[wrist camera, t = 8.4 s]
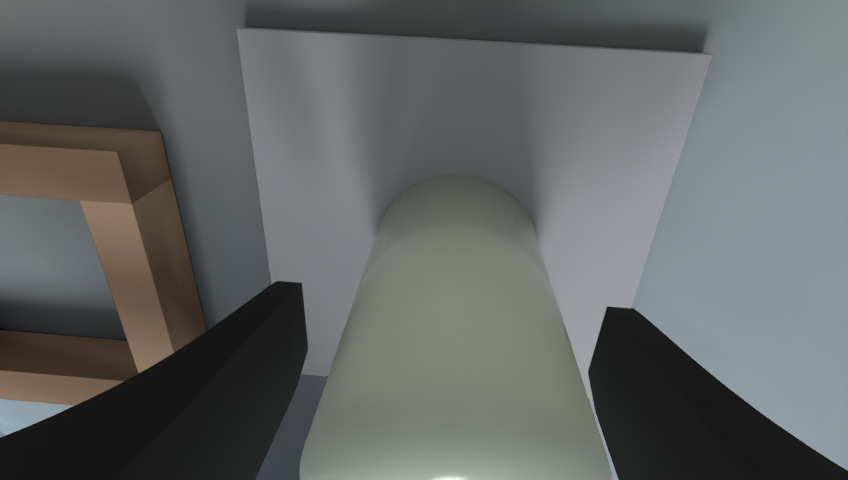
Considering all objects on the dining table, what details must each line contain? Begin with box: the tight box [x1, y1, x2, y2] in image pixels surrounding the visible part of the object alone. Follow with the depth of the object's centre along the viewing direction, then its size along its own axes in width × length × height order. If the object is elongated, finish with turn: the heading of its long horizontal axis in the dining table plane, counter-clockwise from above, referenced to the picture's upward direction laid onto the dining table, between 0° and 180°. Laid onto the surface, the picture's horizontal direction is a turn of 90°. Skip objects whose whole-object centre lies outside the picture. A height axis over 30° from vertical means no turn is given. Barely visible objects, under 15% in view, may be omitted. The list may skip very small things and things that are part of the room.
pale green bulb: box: [299, 175, 612, 480], centre depth 11 cm, size 5×5×8 cm
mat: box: [236, 27, 713, 399], centre depth 15 cm, size 12×12×1 cm
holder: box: [0, 121, 207, 405], centre depth 16 cm, size 10×10×2 cm
